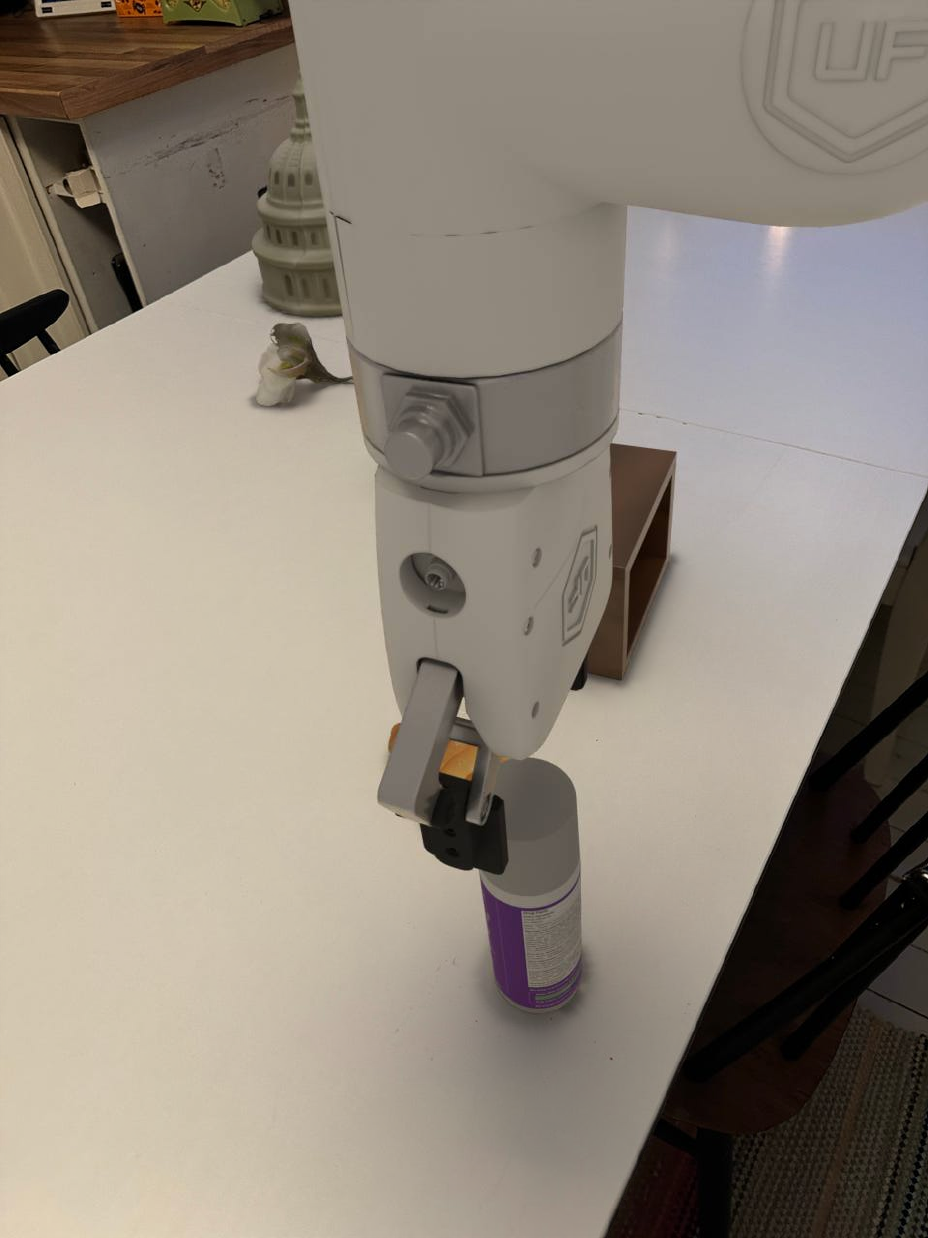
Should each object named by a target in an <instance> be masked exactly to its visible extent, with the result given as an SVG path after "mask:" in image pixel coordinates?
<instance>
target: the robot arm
mask: <svg viewBox="0 0 928 1238" xmlns="http://www.w3.org/2000/svg"><path fill="white" fill-rule="evenodd" d="M287 2H288V7H289V12H290V20H291V23H292V30H293V37H294V42H295V48H296V54H297V59H298V65H299V70H300V72H301V77H302V83H303V89H304V95H305V101H306V106H307V112H308V118H309V124H310V130H311V136H312V141H313V147H314V153H315V159H316V165H317V171H318V176H319V182H320V188H321V194H322V200H323V205H324V211H325V216H326V222H327V227H328V233H329V238H330V244H331V249H332V255H333V261H334V267H335V273H336V279H337V284H338V290H339V296H340V302H341V308H342V314H343V315H342V318H343V319H342V320H343V326H344V331H345V340H346V346H347V350H348V358H349V363H350V369H351V376H353V380H352V381H353V387H354V392H355V398H356V404H357V409H358V416H359V422H360V427H361V432H362V440H363V444H364V446H365V448H366V451H367V454H369V456H370V457H371V458H372V460H373V461H374V462H375V463H376V465H377V467H376V470H375V473H374V518H375V519H374V521H375V541H376V542H375V547H376V565H377V578H378V579H377V580H378V592H379V602H380V613H381V622H382V629H383V637H384V646H385V652H386V658H387V664H388V670H389V676H390V680H391V681H390V682H391V686H392V690H393V694H394V698H395V702H396V705H397V708H398V710H399V713H400V715H401V721H400V723H401V724H400V727H399V730H398V733H397V736H396V738H395V741H394V744H393V747H392V750H391V753H389V756H388V759H387V762H386V765H385V768H384V771H383V774H382V776H381V779H380V782H379V786H378V788H377V793H376V794H377V795H376V801H377V803H378V805H379V806H381V807H383V808H384V809H386V810H388V811H390V812H391V813H393V814H394V815H395V816H397V817H399V818H402V819H406V820H410V821H412V822H416V823H417V824H419V829H420V833H421V841H422V845H423V848H424V849H425V851H426V852H427V853H429V854H431V855H433V856H434V857H435V859H436V860H438V861H439V862H440V863H442V864H444V865H446V866H448V867H451V868H454V869H457V870H460V871H467V872H468V871H472V870H473V869H477V870H478V871H479V870H483V871H486V872H489V873H492V874H496V875H501V874H503V873H504V871H505V868H506V866H507V864H508V861H509V858H508V846H507V833H506V820H505V808H504V800H502V799H501V798H500V797H499V796H497V795H495V794H494V791H495V786H496V781H497V776H498V771H499V766H500V761H501V756H502V757H507V758H512V759H515V760H520V761H521V760H524V759H526V758H528V757H531V756H533V755H534V754H535V753H536V752H537V751H538V750H539V749H540V748H541V747H542V746H543V745H544V744H545V742H546V741H547V739H548V737H549V735H550V734H551V732H552V729H553V728H554V725H555V723H556V722H557V720H558V717H559V715H560V713H561V711H562V708H563V706H564V704H565V702H566V700H567V698H568V695H569V693H570V691H573V692H578V691H580V690H582V689H584V687H585V685H586V683H587V680H588V674H589V672H588V649H589V646H590V644H591V642H592V639H593V637H594V635H595V632H596V630H597V628H598V625H599V623H600V620H601V618H602V616H603V613H604V610H605V608H606V605H607V602H608V598H609V594H610V590H611V584H612V501H611V463H610V444H611V443H613V440H614V438H615V437H616V435H617V432H618V430H619V425H620V402H621V381H622V380H621V379H622V353H623V331H624V329H623V327H624V325H623V324H624V301H625V300H624V299H625V278H626V277H625V274H626V273H625V272H626V252H627V251H626V249H627V248H626V247H627V227H628V226H627V224H628V223H627V222H628V206H629V207H631V206H632V207H639V208H645V209H651V210H652V209H653V210H659V211H667V212H670V213H671V212H673V213H677V214H679V213H680V214H684V215H690V216H691V215H692V216H697V217H704V218H711V219H715V220H723V221H730V222H738V223H744V224H750V225H751V224H752V225H760V226H770V227H777V228H778V227H779V228H820V229H821V228H833V227H842V226H843V227H844V226H849V225H855V224H862V223H864V222H871V221H875V220H881V219H884V218H887V217H888V218H889V217H890V216H894V215H897V214H900V213H903V212H907V211H908V210H911V209H914V208H915V207H918V206H920V205H922V204H924V203H926V202H928V0H287ZM463 699H464V707H465V714H466V715H467V717H468V718H469V719H468V718H464V717H460V716H458V714H459V711H460V708H461V705H462V702H463ZM449 740H453V741H457V742H461V743H464V744H468V745H472V746H475V747H478V749H477V754H476V759H475V764H474V769H473V774H472V779H471V781H470V780H466V779H463V778H459V777H456V776H452V775H449V774H445V773H442V772H439V770H440V767H441V763H442V760H443V757H444V754H445V751H446V748H447V745H448V742H449Z"/></svg>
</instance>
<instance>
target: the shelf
mask: <svg viewBox="0 0 928 1238" xmlns="http://www.w3.org/2000/svg"><path fill="white" fill-rule="evenodd" d="M677 455H678V452H677V451H676V450H667V449H660V448H653V447H645V446H637V445H629V444H623V443H615V442H612V443H611V444H610V463H611V501H612V584H611V590H610V594H609V598H608V602H607V605H606V608H605V610H604V613H603V616H602V618H601V620H600V623H599V625H598V628H597V630H596V632H595V635H594V637H593V639H592V642H591V644H590V646H589V649H588V674H595V675H597V676H603V677H606V678H611V679H612V678H613V679H616V680H623V678H624V675H625V673H626V670H627V668H628V666H629V663H630V660H631V657H632V656H633V652H634V651H635V648H636V645H637V642H638V640H639V638H640V635H641V632H642V631H643V627H644V626H645V622H646V620H647V617H648V615H649V612H650V610H651V607H652V604H653V602H654V600H655V597H656V594H657V592H658V589H659V587H660V584H661V583H662V582H661V581H662V579H663V576H664V574H665V571H666V569H667V566H668V563H669V561H670V555H671V543H672V538H671V537H672V527H673V515H674V514H673V513H674V512H673V511H674V499H675V485H676V472H677V471H676V469H677V458H678V457H677Z"/></svg>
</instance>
